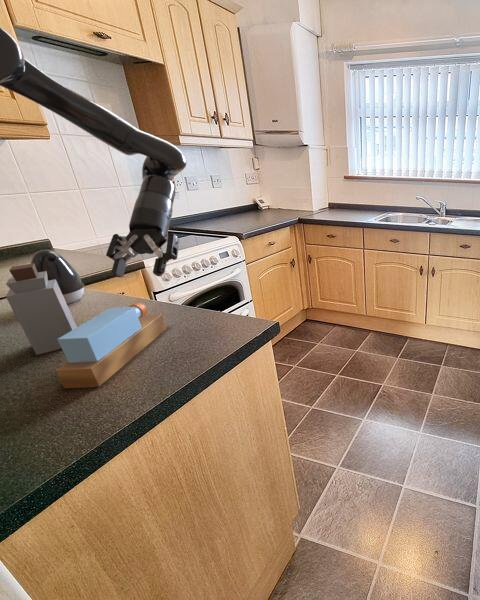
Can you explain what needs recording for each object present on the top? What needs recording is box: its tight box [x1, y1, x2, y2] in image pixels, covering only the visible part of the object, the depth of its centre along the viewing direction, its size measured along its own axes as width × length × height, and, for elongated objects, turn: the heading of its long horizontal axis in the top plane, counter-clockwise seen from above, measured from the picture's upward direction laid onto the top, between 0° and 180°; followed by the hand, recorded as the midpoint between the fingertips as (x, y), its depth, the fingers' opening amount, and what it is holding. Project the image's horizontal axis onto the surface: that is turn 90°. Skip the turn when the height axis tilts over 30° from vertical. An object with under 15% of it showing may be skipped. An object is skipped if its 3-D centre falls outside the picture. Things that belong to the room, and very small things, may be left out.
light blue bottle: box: [57, 302, 148, 363], centre depth 68 cm, size 18×5×5 cm, turn 4°
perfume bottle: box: [5, 263, 78, 356], centre depth 72 cm, size 7×7×18 cm
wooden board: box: [55, 313, 168, 389], centre depth 70 cm, size 22×6×4 cm, turn 4°
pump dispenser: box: [30, 249, 85, 305], centre depth 93 cm, size 10×10×15 cm
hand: (137, 275), depth 76 cm, fingers open, 8 cm apart
